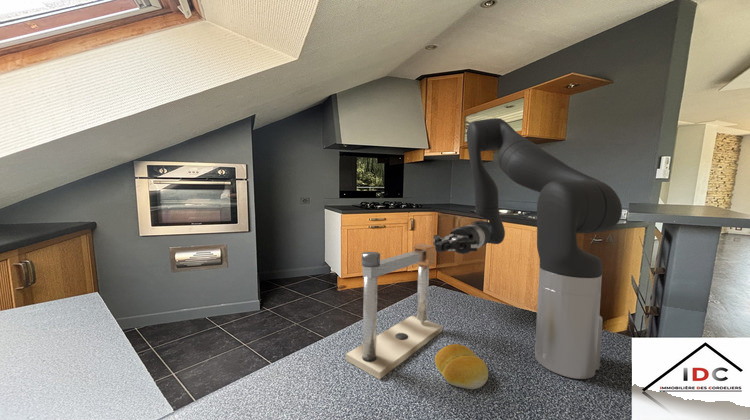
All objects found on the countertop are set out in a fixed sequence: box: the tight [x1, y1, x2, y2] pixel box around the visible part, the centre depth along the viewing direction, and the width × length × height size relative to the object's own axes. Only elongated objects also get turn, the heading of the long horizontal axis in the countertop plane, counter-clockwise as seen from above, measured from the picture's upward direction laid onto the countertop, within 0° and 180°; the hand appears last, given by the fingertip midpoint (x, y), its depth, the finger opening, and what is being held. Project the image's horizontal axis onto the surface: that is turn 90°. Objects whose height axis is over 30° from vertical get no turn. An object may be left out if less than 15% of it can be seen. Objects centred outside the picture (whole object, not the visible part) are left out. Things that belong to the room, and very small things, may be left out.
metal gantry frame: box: [361, 249, 426, 361], centre depth 57 cm, size 22×3×19 cm, turn 139°
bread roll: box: [434, 343, 489, 390], centre depth 49 cm, size 8×9×4 cm
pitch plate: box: [345, 315, 443, 380], centre depth 58 cm, size 22×8×1 cm, turn 139°
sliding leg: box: [412, 243, 436, 323], centre depth 64 cm, size 3×4×17 cm
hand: (438, 247), depth 69 cm, fingers closed
